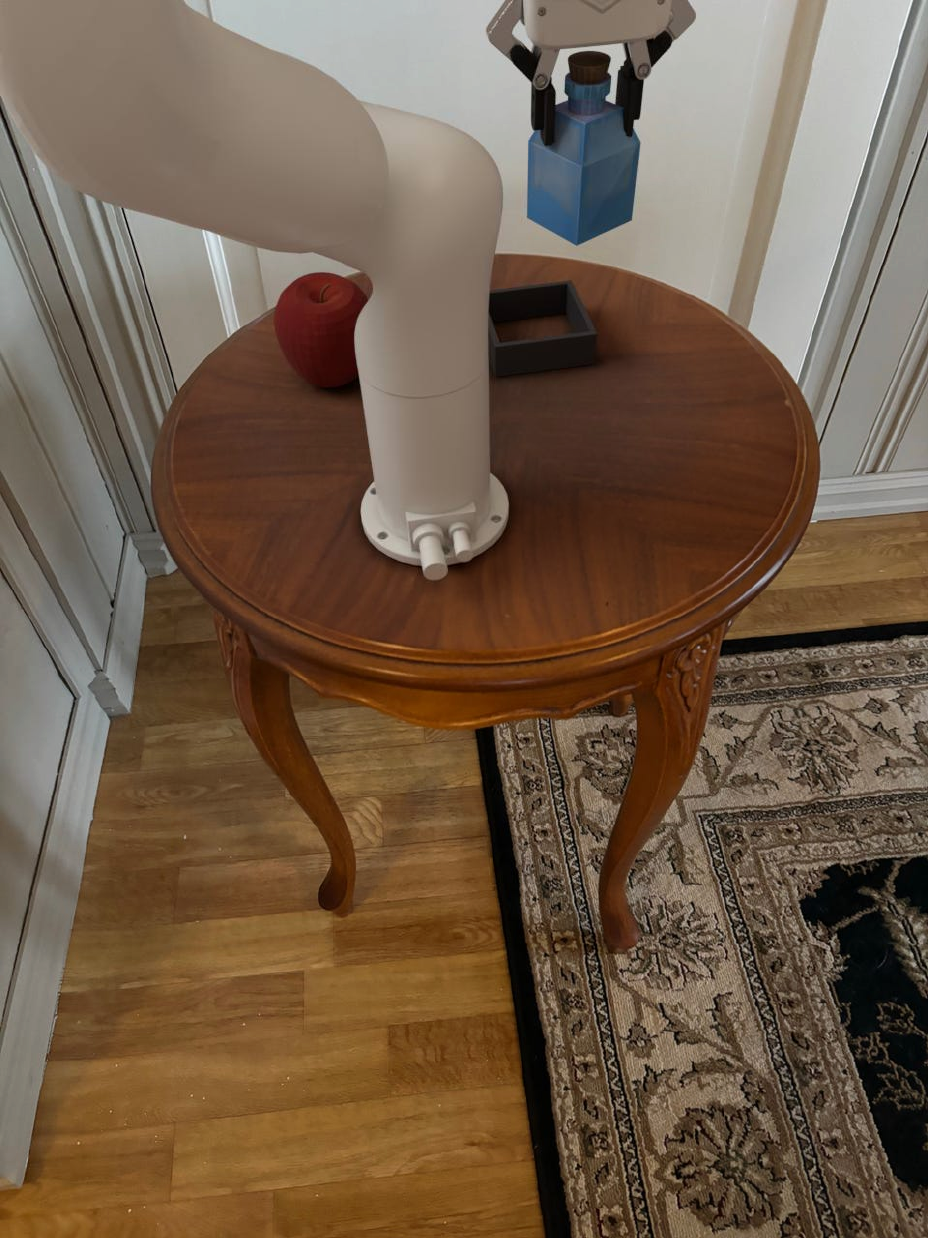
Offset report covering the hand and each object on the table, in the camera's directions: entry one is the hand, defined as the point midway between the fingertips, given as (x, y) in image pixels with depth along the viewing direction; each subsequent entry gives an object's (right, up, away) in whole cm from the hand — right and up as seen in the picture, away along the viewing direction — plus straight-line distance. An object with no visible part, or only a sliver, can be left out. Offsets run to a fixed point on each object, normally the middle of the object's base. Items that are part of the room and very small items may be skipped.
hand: (584, 131), depth 69 cm
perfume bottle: (0, -5, +6) cm, 7 cm away
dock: (-2, -9, +23) cm, 25 cm away
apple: (-23, -14, +21) cm, 33 cm away
